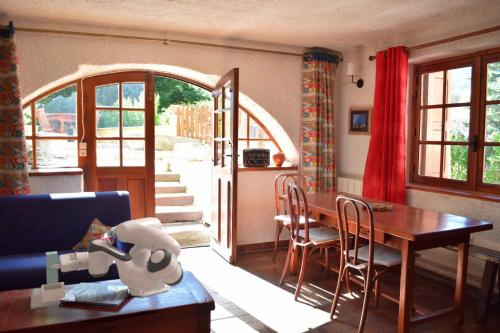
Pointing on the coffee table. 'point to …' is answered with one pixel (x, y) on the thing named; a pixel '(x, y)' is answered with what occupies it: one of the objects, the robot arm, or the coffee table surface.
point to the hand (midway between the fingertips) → (50, 264)
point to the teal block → (52, 273)
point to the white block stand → (49, 295)
